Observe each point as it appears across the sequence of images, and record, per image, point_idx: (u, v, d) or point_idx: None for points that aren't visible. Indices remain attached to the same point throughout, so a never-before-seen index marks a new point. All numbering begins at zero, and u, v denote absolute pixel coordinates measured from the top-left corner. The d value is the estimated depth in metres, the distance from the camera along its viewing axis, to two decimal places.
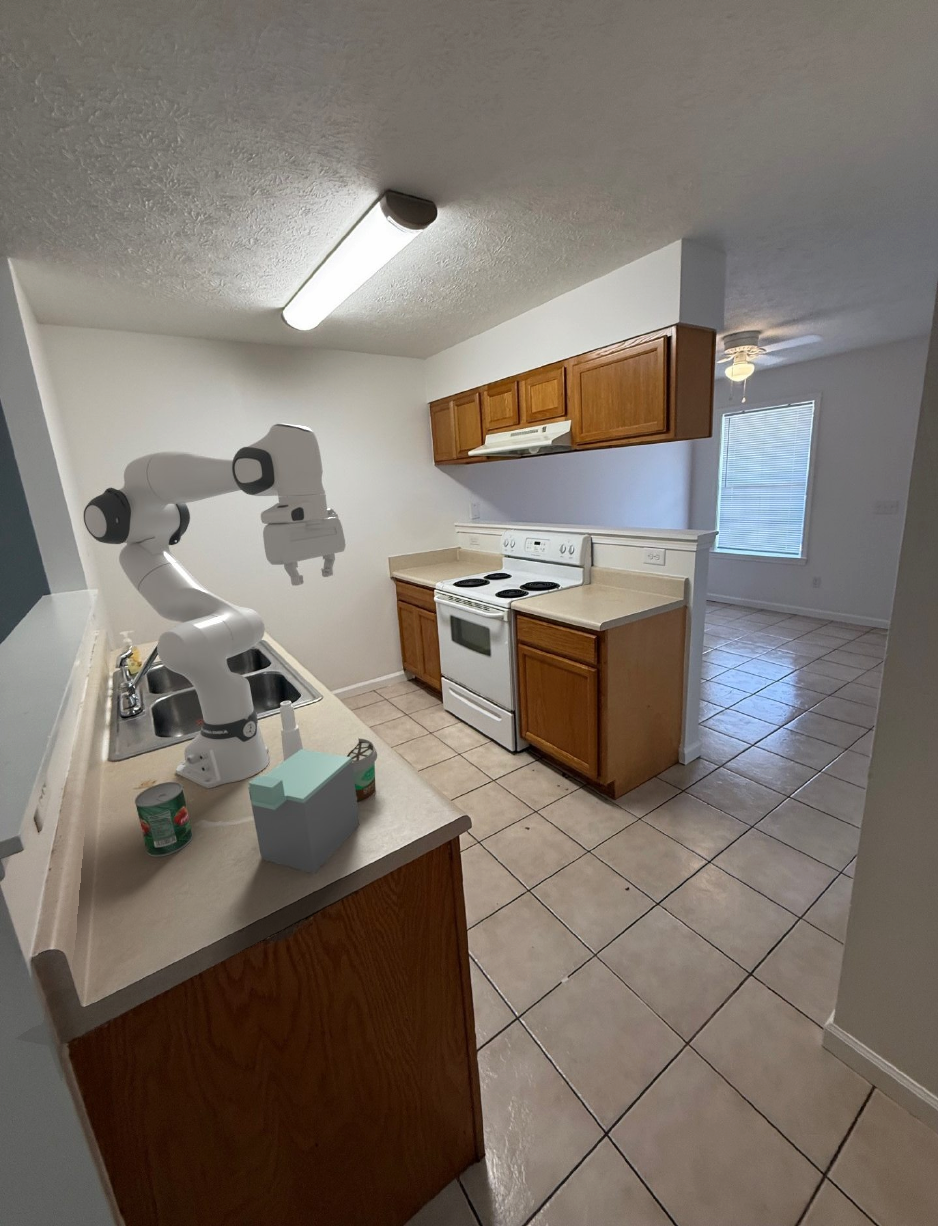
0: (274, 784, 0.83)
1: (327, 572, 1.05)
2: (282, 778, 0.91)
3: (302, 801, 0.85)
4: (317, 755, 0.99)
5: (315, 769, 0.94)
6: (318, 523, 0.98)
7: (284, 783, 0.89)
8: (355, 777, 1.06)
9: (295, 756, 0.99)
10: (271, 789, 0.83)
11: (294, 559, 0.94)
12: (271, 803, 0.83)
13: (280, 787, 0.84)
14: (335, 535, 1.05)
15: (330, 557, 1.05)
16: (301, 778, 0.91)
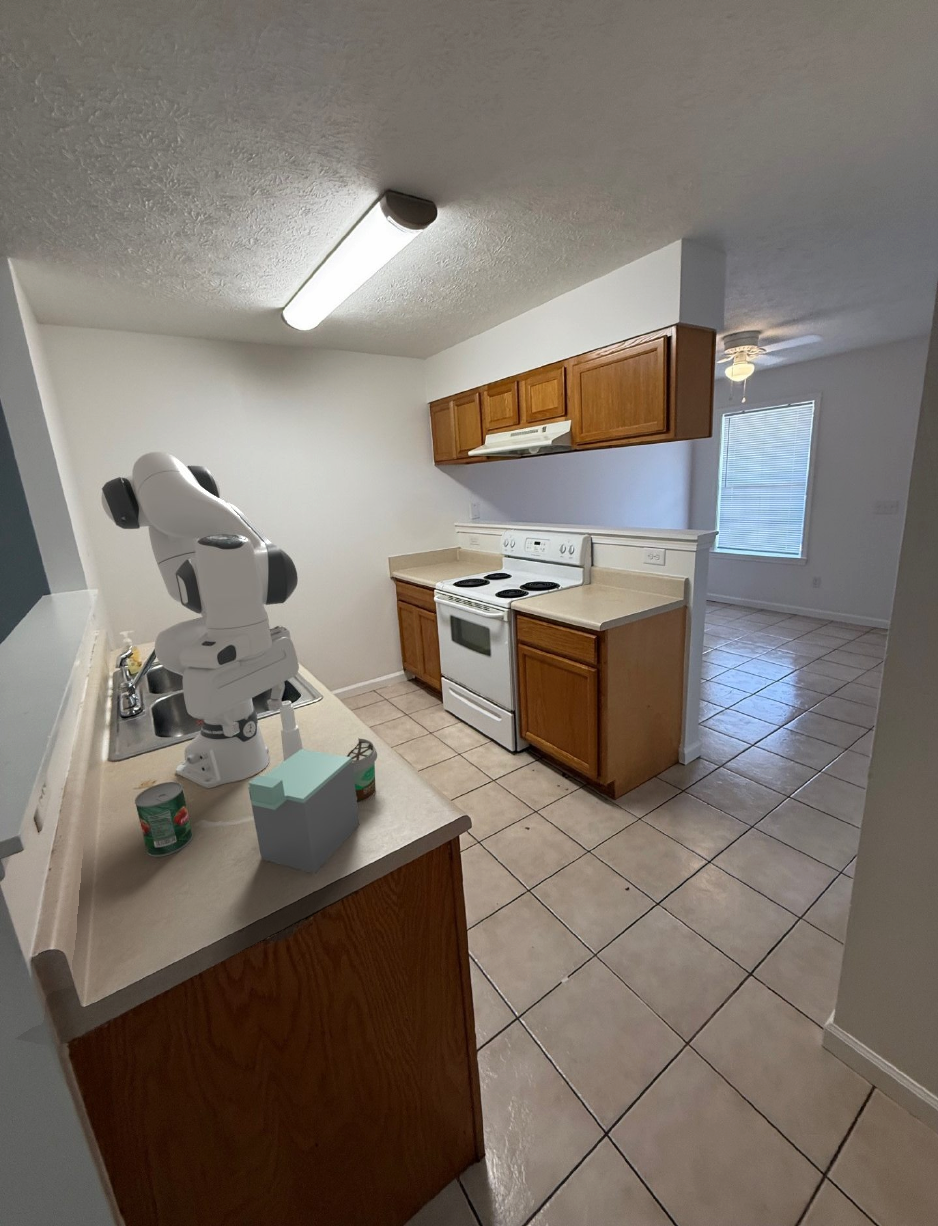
0: (274, 784, 0.83)
1: (274, 705, 0.85)
2: (282, 778, 0.91)
3: (302, 801, 0.85)
4: (317, 755, 0.99)
5: (315, 769, 0.94)
6: (258, 656, 0.78)
7: (284, 783, 0.89)
8: (355, 777, 1.06)
9: (295, 756, 0.99)
10: (271, 789, 0.83)
11: (224, 709, 0.74)
12: (271, 803, 0.83)
13: (280, 787, 0.84)
14: (284, 660, 0.85)
15: (278, 687, 0.85)
16: (301, 778, 0.91)
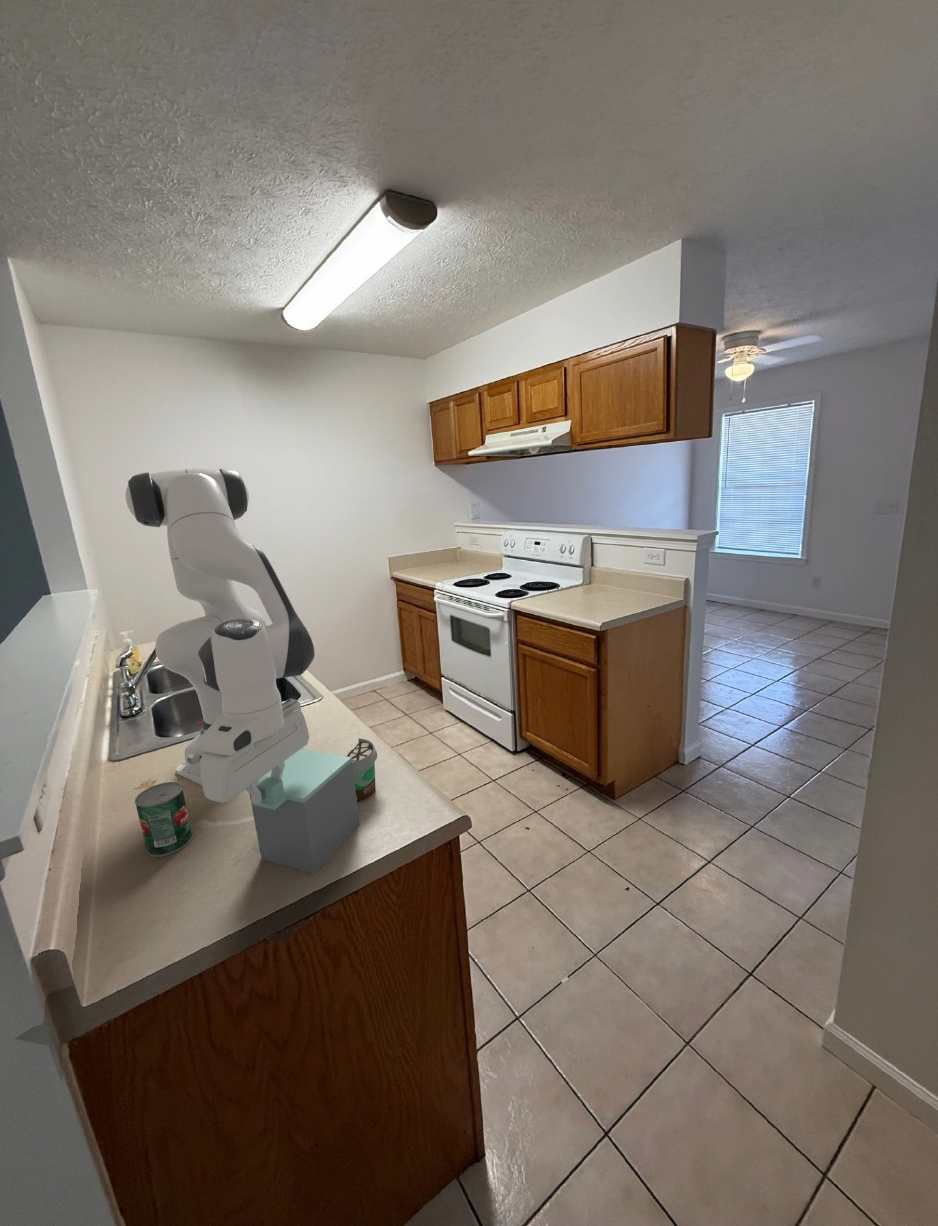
0: (274, 784, 0.83)
1: None
2: (282, 778, 0.91)
3: (302, 801, 0.85)
4: (317, 755, 0.99)
5: (315, 769, 0.94)
6: (271, 735, 0.81)
7: (284, 783, 0.90)
8: (355, 777, 1.06)
9: (295, 756, 0.99)
10: (271, 789, 0.83)
11: (239, 790, 0.77)
12: (271, 803, 0.84)
13: (280, 787, 0.84)
14: (295, 732, 0.89)
15: (278, 767, 0.86)
16: (301, 778, 0.91)
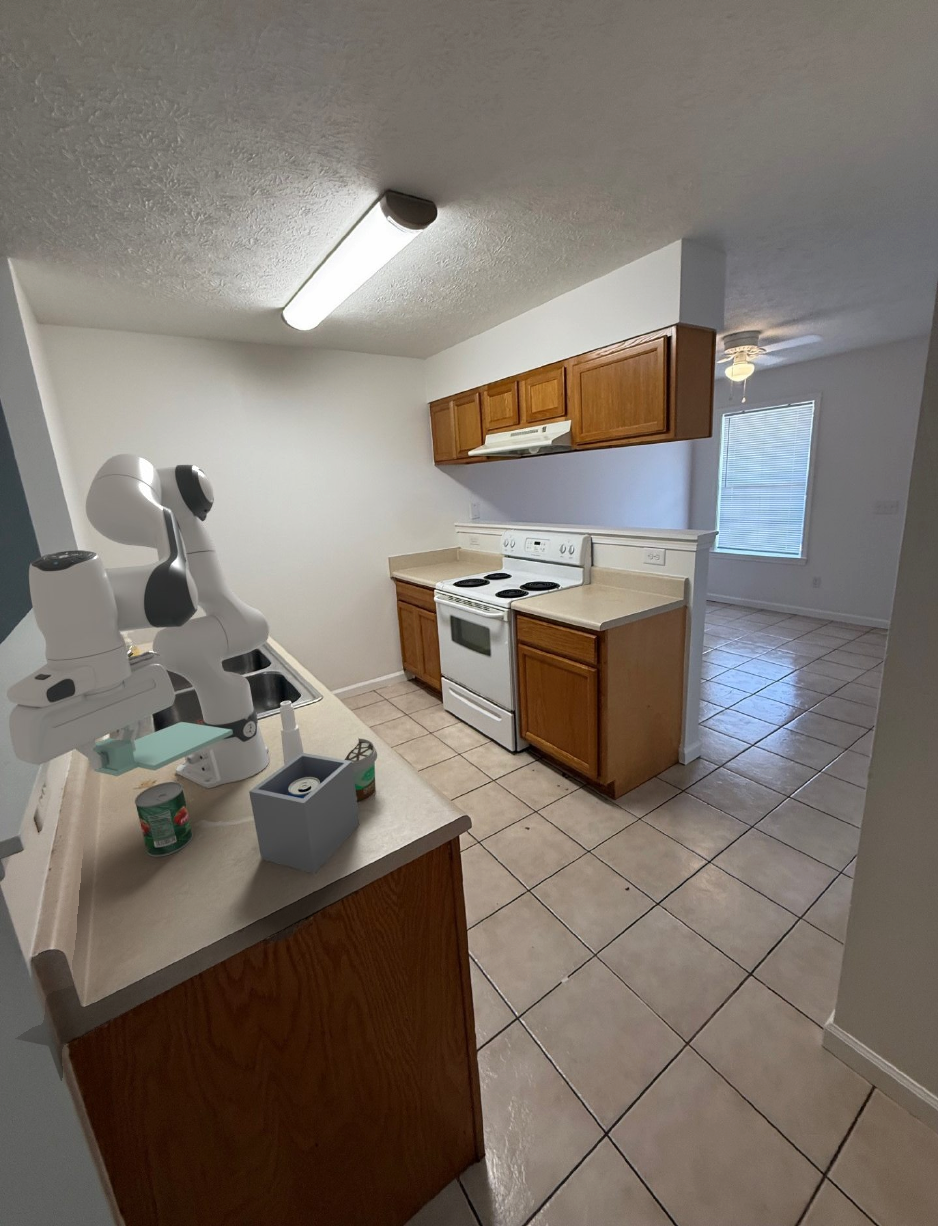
0: (120, 746, 0.71)
1: None
2: (143, 746, 0.79)
3: (153, 768, 0.72)
4: (196, 727, 0.87)
5: (185, 739, 0.82)
6: (110, 689, 0.69)
7: (142, 751, 0.77)
8: (355, 777, 1.06)
9: (170, 728, 0.87)
10: (114, 751, 0.71)
11: (62, 751, 0.65)
12: (114, 768, 0.71)
13: (128, 750, 0.72)
14: (153, 689, 0.76)
15: (129, 728, 0.74)
16: (164, 747, 0.79)
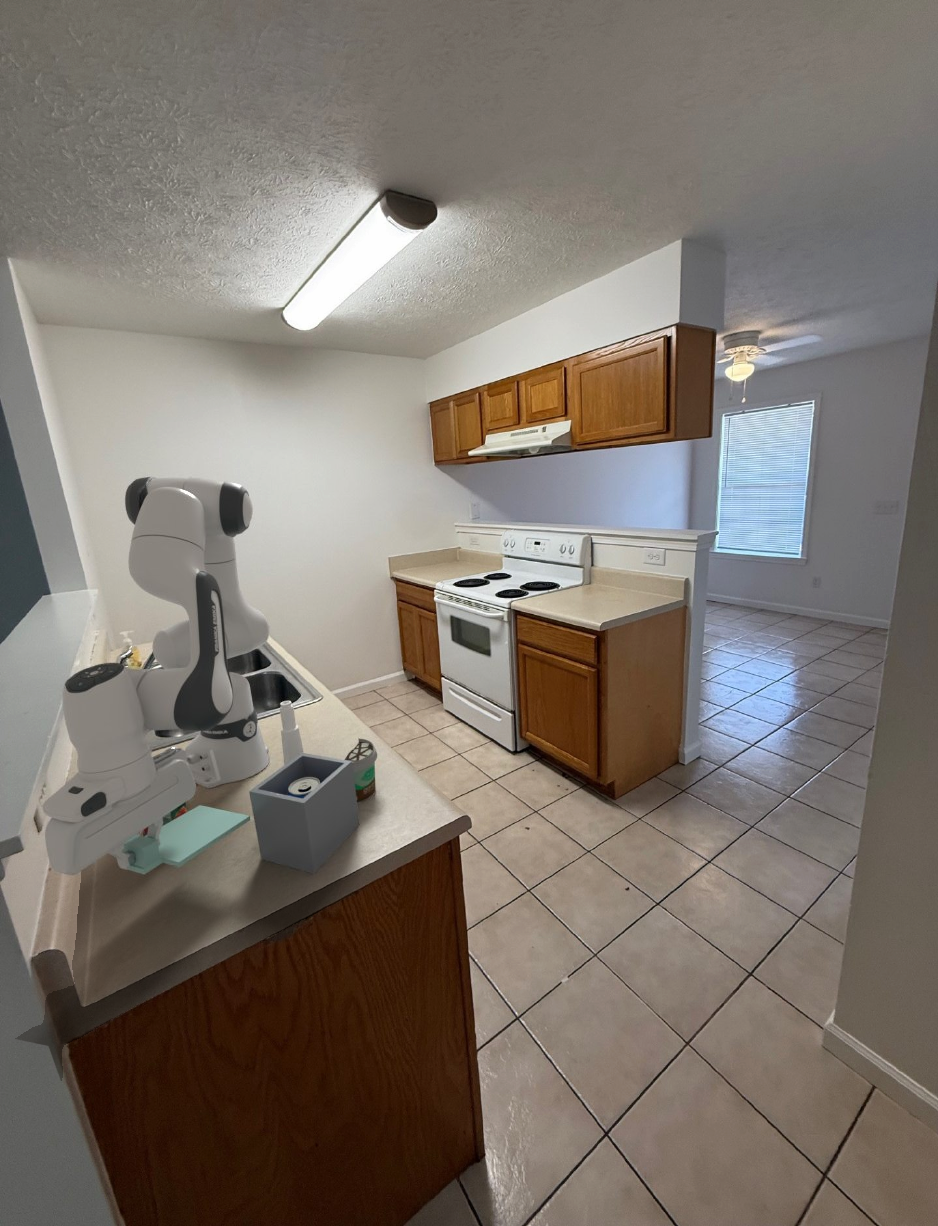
0: (146, 844, 0.75)
1: None
2: (165, 838, 0.83)
3: (178, 865, 0.76)
4: (214, 812, 0.90)
5: (205, 828, 0.85)
6: (137, 793, 0.73)
7: (165, 843, 0.81)
8: (355, 777, 1.06)
9: (190, 813, 0.90)
10: (142, 850, 0.74)
11: (94, 858, 0.69)
12: (141, 866, 0.75)
13: (154, 848, 0.76)
14: (176, 785, 0.80)
15: (154, 824, 0.78)
16: (186, 838, 0.82)
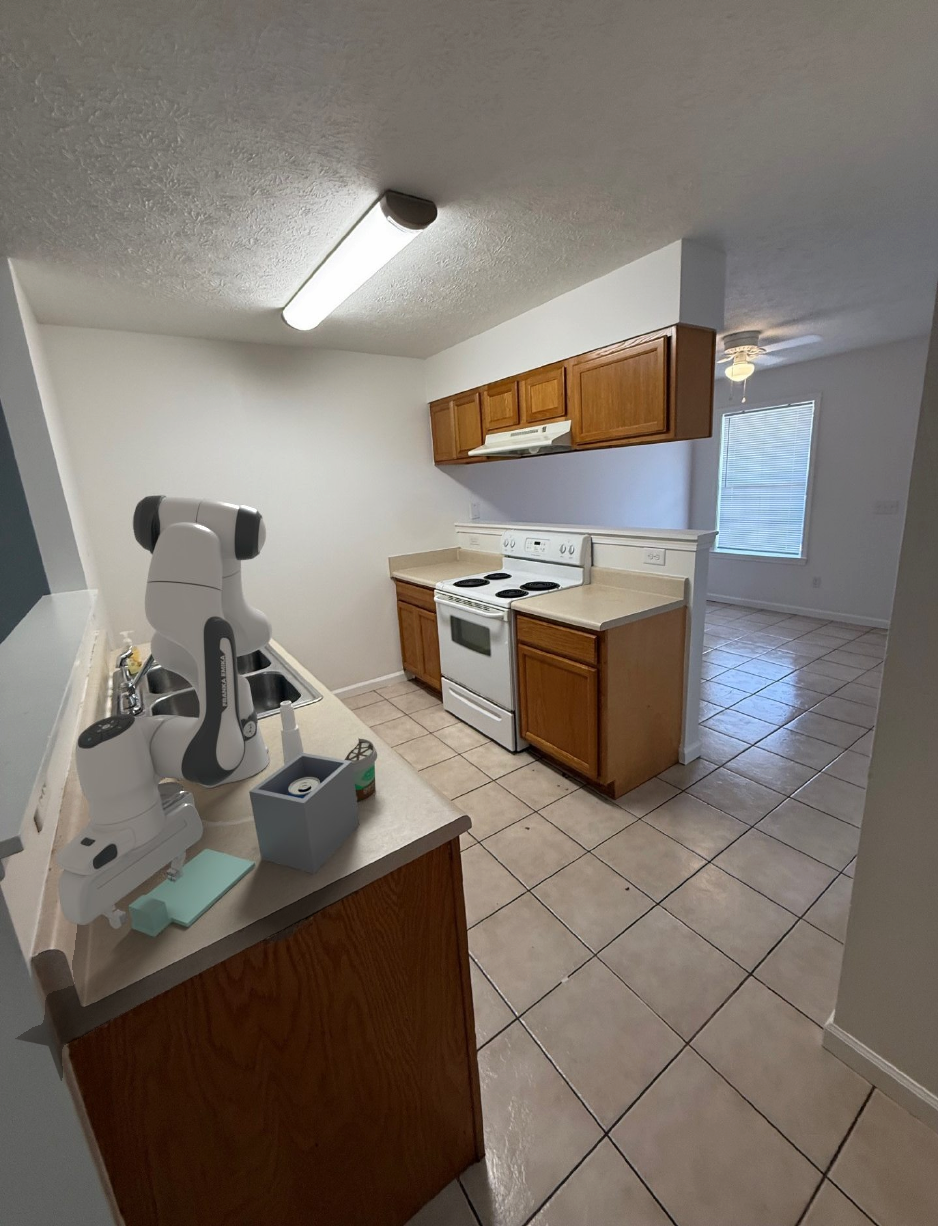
0: (154, 909, 0.77)
1: (173, 876, 0.82)
2: (174, 891, 0.85)
3: (186, 925, 0.78)
4: (220, 858, 0.92)
5: (212, 878, 0.87)
6: (147, 842, 0.75)
7: (174, 899, 0.83)
8: (355, 777, 1.06)
9: (196, 860, 0.92)
10: (150, 916, 0.76)
11: (105, 907, 0.71)
12: (151, 929, 0.77)
13: (162, 911, 0.78)
14: (184, 829, 0.82)
15: (178, 857, 0.82)
16: (194, 892, 0.84)
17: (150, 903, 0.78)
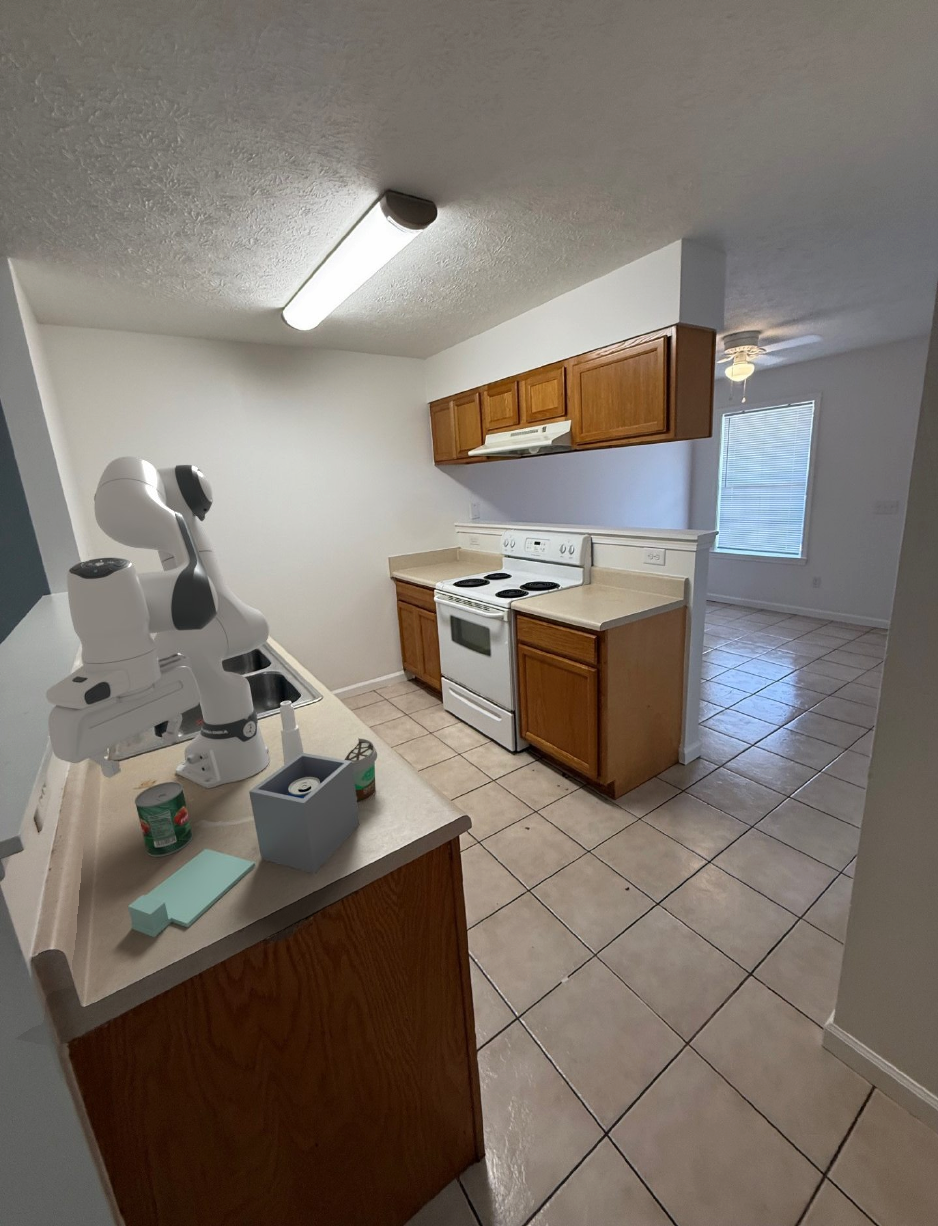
0: (154, 909, 0.77)
1: (169, 739, 0.80)
2: (173, 892, 0.85)
3: (186, 925, 0.78)
4: (220, 858, 0.92)
5: (212, 878, 0.87)
6: (142, 691, 0.72)
7: (173, 899, 0.83)
8: (355, 777, 1.06)
9: (196, 860, 0.92)
10: (150, 916, 0.76)
11: (97, 750, 0.68)
12: (151, 929, 0.77)
13: (162, 911, 0.78)
14: (180, 691, 0.79)
15: (174, 719, 0.80)
16: (193, 892, 0.84)
17: (150, 903, 0.78)
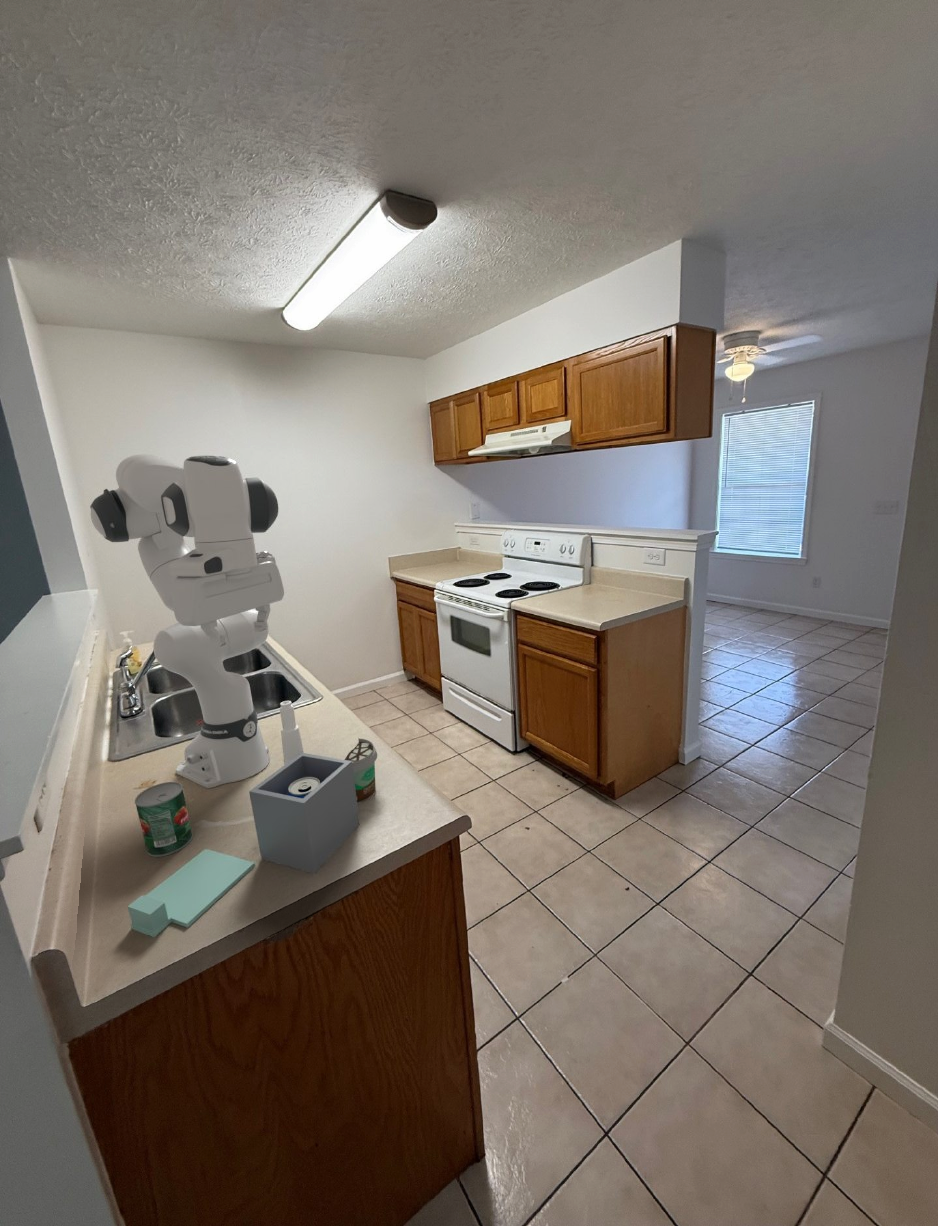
0: (154, 909, 0.77)
1: (260, 626, 0.90)
2: (173, 892, 0.85)
3: (186, 926, 0.78)
4: (220, 858, 0.92)
5: (212, 879, 0.87)
6: (243, 572, 0.82)
7: (173, 899, 0.83)
8: (355, 777, 1.06)
9: (196, 860, 0.92)
10: (150, 916, 0.76)
11: (211, 618, 0.78)
12: (150, 930, 0.77)
13: (162, 911, 0.78)
14: (270, 583, 0.90)
15: (264, 608, 0.90)
16: (193, 892, 0.84)
17: (150, 903, 0.78)
